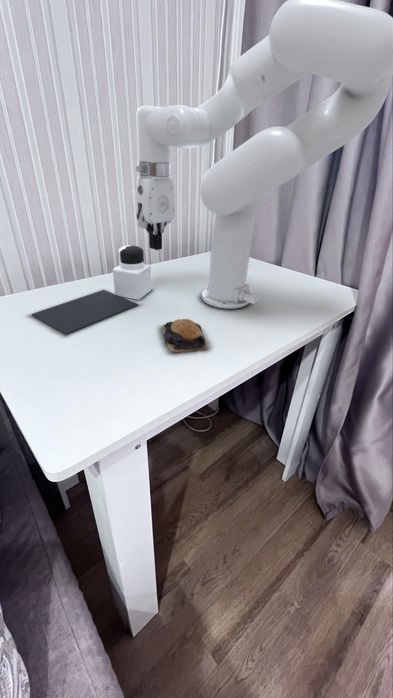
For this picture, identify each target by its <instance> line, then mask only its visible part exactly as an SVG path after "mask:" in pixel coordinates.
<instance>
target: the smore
mask: <svg viewBox="0 0 393 698" xmlns="http://www.w3.org/2000/svg"><path fill="white" fill-rule="evenodd" d="M161 330H162V334H163V339H164V341H165V343H166V346H167V347H168V349H169V352H171V353H175V354H178V353H188V352H196V351H204V350H208V345H207V342H206V338H205V337H204V336H203V329H202V327H201V325H200V324H199V323H197V322H195V321H194V320H192V319H189V318H180V319H175V320H173V321H169V322H166V323H165V324H162V327H161Z"/></svg>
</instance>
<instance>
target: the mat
mask: <svg viewBox="0 0 393 698" xmlns="http://www.w3.org/2000/svg"><path fill="white" fill-rule="evenodd" d="M138 306H139V304H138V303H136V302H134V301H131V300H129V299H128V298H125V297H121V296H117V295H115V293H113V292H110V291H109V290H108V291H107V290H105V289H102V290H98V291H96V292H94V293H93V292H92V293H91V294H87V295H83V296H81V297H78V298H75V299H72V300H69V301H66V302H63V303H60V304H58V305H55V306H51V307H49V308H46V309H43V310H40V311H37V312H34V313H31V317H34V318H35V319H37V320H38V321H41V322H43V324H45V325H47V326H49V327H51V328H53V329H55V330H56V331H58V332H59V333H62V334H63V335H65V336H67V335H69V334H72V333H74V332H76V331H79V330H82V329H85V328H87V327H90V326H92V325H93V324H96V323H98V322H101V321H104V320H107V319H108V318H111V317H114V316H117V315H118V314H120V313H124V312H125V311H127V310H131V309H133V308H136V307H138Z"/></svg>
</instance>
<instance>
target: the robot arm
mask: <svg viewBox="0 0 393 698" xmlns="http://www.w3.org/2000/svg"><path fill="white" fill-rule="evenodd" d="M270 23H271V24H270V27H269V32H268V35H267V36H265V37H264V38H263V39H261V40H260V41H258V42H257V43H256V44H254V45H253V46H252V47H250V48H249V49H248V50H247V51H245V52H244V53H242V54H241V55H240V56H238V57H237V58H236V59H235V60H233V62H232V63H231V65H230V67H229V69H228V73H227V76H226V80H225V82H224V84H223V85H222V87H221V88H220V89H219V90H218V91H217V92H216V93H215V94H214V95H212V96H211V97H210V98H208V99H207V100H206V101H204V102H203V103H201V104H200V105H199V106H197V107H192V106H188V105H183V104H173V105H168V106H157V105H156V106H155V105H141V106H139V107H138V108H137V110H136V113H135V115H136V116H135V118H136V119H135V122H136V123H135V124H136V144H137V148H136V149H137V165H136V166H135V171H136V172H137V173H138V176H137V178H136V185H135V198H134V199H135V206H134V207H135V218H136V220H137V221H138V224H137V226H138V228H141V229H145V231H146V233H148V247H149V249H151V250H155V251H159V250H162V249H163V234H164V232H165V228H166V226H168V225H169V224H170V223H171V222H172V221H173V220H174V219H175V217H176V197H175V196H176V195H175V186H174V180H173V177H172V176H171V147H173V148H176V149H198V148H201V147H204V146H206V145H207V144H209V143H211V142H213V141H214V140H215V139H217V138H219V137H221V136H222V135H224V134H225V133H227V132H228V131H229V130H231V129H232V128H234V127H235V126H236V125H237V124H238V123H239V122H240V121H242V120H243V119H245V118H246V117H247V116H248V115H249V114H250V113H251V112H252V111H253V110H255V109H256V108H257V107H259V106H261V105H262V104H264V103H265V102H267V101H268V100H271V98H273V97H274V96H277V95H278V94H279V93H281V92H282V91H284V90H286V89H288V88H289V87H290V86H292V85H293V84H295V83H296V82H298V81H300V80H302V79H303V78H304V77H306V76H308V75H309V74H312V75H315V76H318V77H321V78H325V79H328V80H331V81H335V82H338V83H340V85H339V87H338V88H337V90H336V91H335V92H334V93H333V94H332V95H331V96H329V97H328V98H326V99H325V100H323V101H321V102H320V103H318V104H316V105H315V106H314V107H312V108H311V109H310V110H309V111H307V112H306V113H304V114H303V115H302V116H300V117H299V118H297V119H296V120H294V121H292V122H290V123H289V124H288V125H286V126H278V125H277V126H271V127H268V128H265V129H263V130H261V131H260V132H258V133H255V135H253V136H251V137H250V138H249V139H247V140H246V141H244V143H242V144H241V145H239V146H237V148H235V149H234V150H232V151H230V152H229V153H228V154H227V155H225V156H224V157H222V158H221V159H220V160H218V161H217V162H215V163H214V164H213V165H211V167H210V168H208V169H207V170H206V172H205V174H204V175H203V177H202V179H201V183H200V189H199V191H200V199H201V201H202V203H203V205H204V207H205V208H206V209H207V210H208V211H209V212H210V213H213V214H214V215H213V222H212V229H211V242H210V257H209V269H208V284H207V288H205V289H204V290H203V291H202V292H201V299H202V301H203V302H204V303H205V304H207V305H209V306H211V307H215V308H219V309H240V308H243V307H246V306H247V305H249V304H253V305H255V304H256V303H257V301H258V293H257V292H254V291H250V284H248V283H247V277H248V272H249V271H248V269H249V263H250V257H251V256H250V255H251V247H252V240H253V234H254V226H255V221H256V214H257V212H258V211H257V210H258V206H259V201H260V198H261V197H262V196H264V195H266V194H268V193H270V192H271V191H273V190H275V189H276V188H278V187H280V186H281V185H284V184H286V183H288V182H290V181H291V180H293V179H295V178H296V177H297V176H298V175H299V174H301V173H302V172H303V171H305V170H307V169H309V167H311V166H313V165H314V164H316V163H318V162H320V161H322V160H323V159H324V158H326V157H328V156H329V155H330V154H332V153H333V152H335V151H337V150H338V149H341V148H342V147H343V146H345V145H347V144H348V143H350V142H351V141H352V140H354V139H355V138H356V137H358V136H359V135H360V134H361V133H363V131H364V130H365V129H366V128H367V127H368V126H369V125H370V124H371V123H372V122H373V120H374V119H375V118H376V116H377V115H378V113H380V110H381V109H382V107H383V105H384V103H385V101H386V99H387V96H388V94H389V91H390V87H391V84H392V80H393V16H391V15H390V14H388V13H387V12H385V11H383V10H380V9H377V8H372V7H368V6H364V5H360V4H356V3H352V2H346V1H342V0H286V1H284V2H283V4H282V5H281V6H280V7H279V8H278V9H277V11H276V13H275V14H274V16H273V19H272V21H271V22H270Z"/></svg>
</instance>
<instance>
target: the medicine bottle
mask: <svg viewBox="0 0 393 698" xmlns="http://www.w3.org/2000/svg"><path fill="white" fill-rule="evenodd" d="M144 256H145V255H144V249H143V248H142V247H140V246H137V245H124V246H121V247H120V248H118V262H119V265H117V266H116V267H114V268H112V277H113V287H114V288H113V289H114V294H115V295H117V296H120V297H122V298H126V299H133V300H137V301H139V300H141V299H142V298H143V297H145V296H146V295H147V294H149V293H150V292H151V291H152V276H151V274H152V273H151V265H150V264H145V261H144V258H145V257H144Z"/></svg>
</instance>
